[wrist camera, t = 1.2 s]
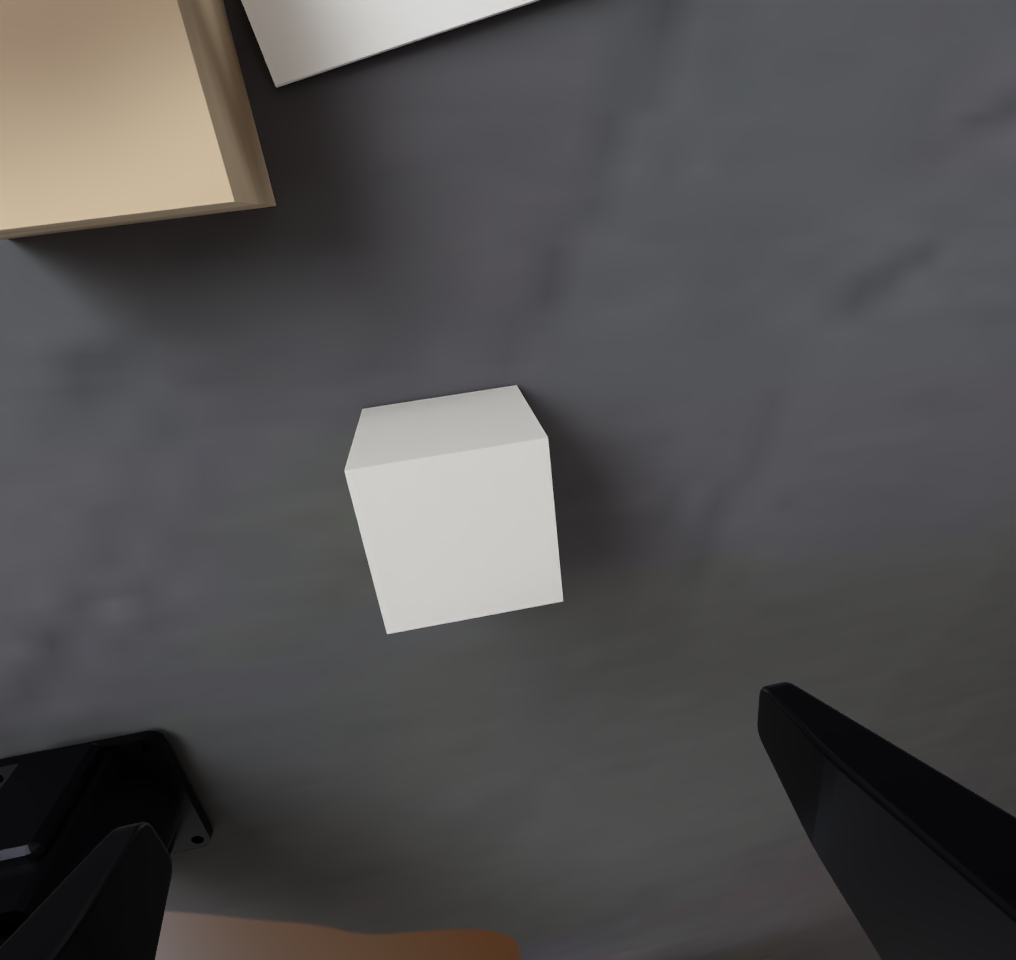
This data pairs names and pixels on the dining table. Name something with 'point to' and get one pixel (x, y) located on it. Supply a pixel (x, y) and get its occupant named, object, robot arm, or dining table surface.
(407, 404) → the white cube
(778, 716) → the robot arm
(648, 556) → the dining table surface
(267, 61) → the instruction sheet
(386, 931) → the dining table surface
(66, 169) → the oak base
